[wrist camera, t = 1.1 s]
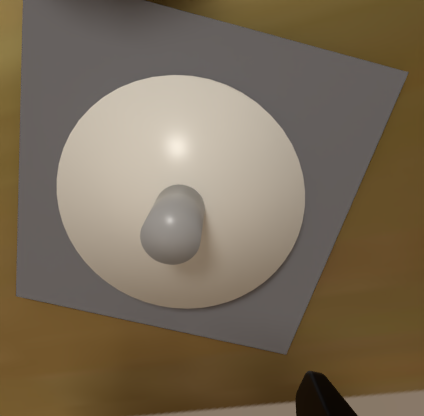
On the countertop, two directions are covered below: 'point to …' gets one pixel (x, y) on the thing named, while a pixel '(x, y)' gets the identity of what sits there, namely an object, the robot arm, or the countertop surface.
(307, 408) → the robot arm
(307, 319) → the countertop surface
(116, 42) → the mat
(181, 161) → the lid
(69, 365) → the countertop surface
